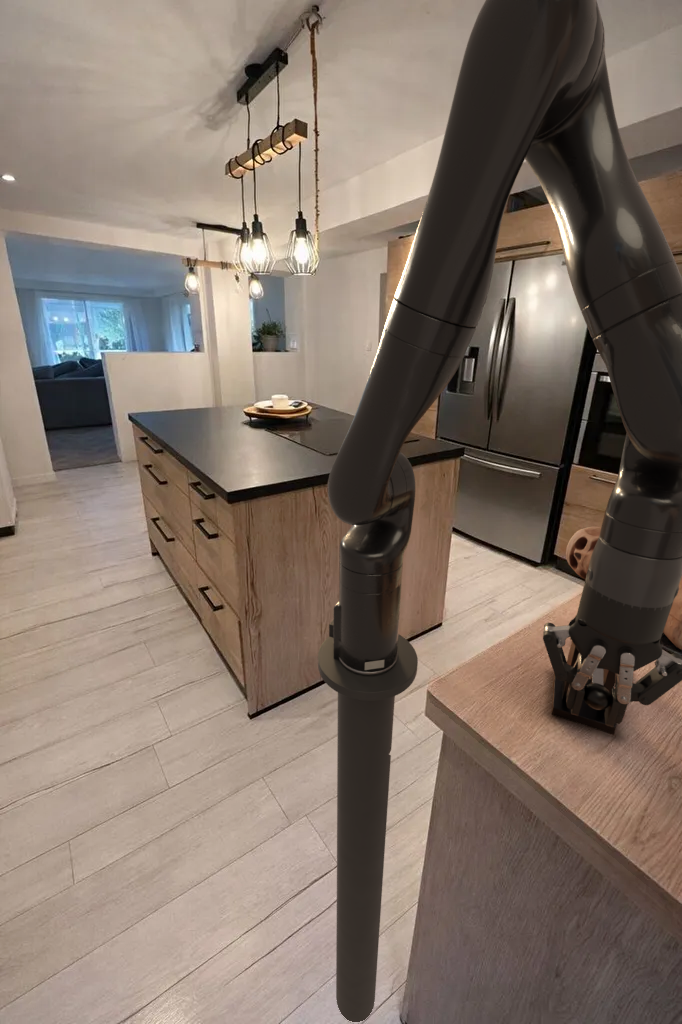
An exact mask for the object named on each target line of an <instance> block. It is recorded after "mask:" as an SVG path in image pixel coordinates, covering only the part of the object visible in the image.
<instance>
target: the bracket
mask: <svg viewBox="0 0 682 1024" xmlns="http://www.w3.org/2000/svg"><path fill="white" fill-rule="evenodd" d="M569 639H570V640H571V643H570V647H569V651H568V655H567V658H566V661H567V664H569V665H570V666H572V667H573V666H574V665H575V663H576V661H577V658H578V654H579V651H578V650H577V648H576V646H575V645H574V643H573V641H572V639H571V638H570V637H569ZM615 678H616V673H613V672H611V671H609V670H607V669H604V671H603V686H605V687H606V688H607V689H608V691H609V692H610V693H611V690H612V688H614V689H615ZM552 682H553V683H552V698H551V699H552V700H551V715H552V716H554V717H558V718H561V719H564V720H568V721H570V722H574V723H577V724H580V725H582V726H585V727H589V728H591V729H594V730H598V731H601V732H604V733H607V734H610V735H614V736H615V732H616V731H617V723H615V724H614V727H610V726H607V725H606V724H605V709H603V710H596V709H593V708H591V707H590V706H588V705H587V704H586V702H585V701H584V699H583V701H582V704H581V708H580V712H579V715H578V716H576V715H573V714H571V709H569V708H567V705H566V695H567V691H568V687H569V683H568V682H567V681H565V680H564V681H561V680H558V679H557V678H556V677H555V674H554V673H553V681H552ZM590 683H591V678H589V679H588V681H587V683H586V684H585V686H586V685H588V684H590Z"/></svg>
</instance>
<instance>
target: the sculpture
mask: <svg viewBox="0 0 682 1024" xmlns="http://www.w3.org/2000/svg"><path fill="white" fill-rule="evenodd" d="M601 527H602V526H596V525H595V526H594V525H593V526H588V527H584V528H580V529H578V530H577V531H575V532H574V534H573V535H572V536H571V538H570V539H569V541H568V543H567V545H566V549H565V557H566V561H567V564H568V565H569V567H570V568H571V569H572V570H573V571H574V572H575V573H576V574H577V575H578V576H579V577H580V578H582V579H584V580H585V579H586V575H587V571H588V567H589V563H590V559H591V556H592V552H593V550H594V547H595V545H596V543H597V541H598V538H599V535H600V531H601ZM663 635H665V636H666V637H667V639H668V640H669V641H670V642H671V643H672V644H673V645H674V646H675V647H676V648H678V649H679V650H681V651H682V576H681V580H680V583H679V591H678V594H677V596H676V597H675V598H674V601H673V604H672V607H671V610H670V613H669V616H668V619H667V622H666V625H665V628H664V631H663Z"/></svg>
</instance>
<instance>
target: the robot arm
mask: <svg viewBox="0 0 682 1024" xmlns="http://www.w3.org/2000/svg"><path fill="white" fill-rule="evenodd" d="M605 31H606V30H605V27H604V23H603V18H602V14H601V10H600V7H599V5H598V1H597V0H484V2H483V4H482V6H481V8H480V10H479V12H478V14H477V16H476V19H475V21H474V24H473V27H472V29H471V32H470V34H469V37H468V40H467V43H466V46H465V50H464V54H463V58H462V62H461V66H460V70H459V73H458V77H457V81H456V85H455V90H454V94H453V97H452V102H451V106H450V110H449V115H448V119H447V121H446V122H447V123H446V127H445V131H444V136H443V138H442V139H443V140H442V144H441V148H440V152H439V156H438V160H437V164H436V168H435V172H434V175H433V178H432V182H431V186H430V189H429V192H428V195H427V198H426V201H425V204H424V206H423V209H422V213H421V216H420V218H419V222H418V225H417V228H416V231H415V235H414V237H413V240H412V244H411V247H410V251H409V254H408V256H407V260H406V263H405V266H404V269H403V271H402V275H401V278H400V280H399V283H398V285H397V288H396V291H395V293H394V297H393V300H392V303H391V306H390V309H389V312H388V315H387V318H386V321H385V324H384V326H383V330H382V332H381V333H382V334H381V337H380V342H379V344H378V348H377V350H376V354H375V356H374V360H373V363H372V365H371V368H370V371H369V374H368V377H367V380H366V383H365V386H364V388H363V392H362V394H361V398H360V401H359V403H358V407H357V409H356V412H355V414H354V416H353V419H352V422H351V424H350V426H349V429H348V430H347V432H346V435H345V437H344V438H343V441H342V443H341V446H340V448H339V450H338V452H337V455H336V457H335V459H334V461H333V463H332V465H331V468H330V472H329V474H328V479H327V499H328V503H329V506H330V509H331V510H332V512H333V514H334V515H335V517H336V518H337V519H338V520H339V521H341V522H343V523H345V524H346V525H350V526H351V527H350V528H349V530H348V531H347V532H346V533H345V535H343V537H342V538H341V540H340V543H339V548H338V581H339V582H338V602H337V603H336V604H335V605H334V606H333V618H332V620H331V621H330V623H329V624H328V637H332V638H334V659H336V660H339V661H340V663H341V665H342V666H343V667H344V668H345V669H347V670H348V671H350V672H352V673H354V674H357V675H362V676H377V675H381V674H384V673H386V672H388V671H390V670H391V669H392V668H393V667H394V666H395V664H396V662H397V649H398V634H399V629H400V628H399V627H400V613H401V599H402V586H403V585H402V583H403V569H404V568H403V567H404V556H405V551H406V549H407V548H408V545H409V543H410V539H411V533H412V529H413V528H412V527H413V519H414V511H415V510H414V509H415V502H416V476H415V473H414V469H413V466H412V463H411V462H410V461H409V459H408V458H407V456H406V455H405V454H404V453H402V452H401V450H402V448H403V446H404V444H405V442H406V441H407V438H408V437H409V435H410V434H411V432H412V431H413V430H414V428H415V427H416V425H417V424H418V423H419V422H420V421H421V419H422V418H423V416H424V415H425V414H426V413H427V411H428V410H429V409H430V408H431V407H432V406H433V404H435V402H436V400H437V399H438V398H439V397H440V395H441V394H442V393H443V391H444V390H445V389H446V387H447V386H448V385H449V383H450V382H451V381H452V379H453V377H454V376H455V374H456V372H457V371H458V370H459V367H460V365H461V363H462V362H463V359H464V357H465V354H466V352H467V351H468V348H469V345H470V344H471V341H472V340H473V337H474V334H475V332H476V330H477V327H478V326H479V323H480V321H481V318H482V315H483V313H484V309H485V307H486V303H487V300H488V296H489V293H490V287H491V281H492V277H493V271H494V266H495V261H496V253H497V249H498V243H499V235H500V232H501V231H500V230H501V225H502V221H503V217H504V214H505V210H506V207H507V204H508V201H509V198H510V195H511V192H512V190H513V187H514V185H515V182H516V180H517V177H518V175H519V173H520V171H521V168H522V166H523V164H524V162H525V161H526V163H527V165H529V167H530V169H531V171H532V172H533V174H534V176H535V177H536V179H537V180H538V182H539V184H540V187H541V189H542V190H543V192H544V195H545V197H546V199H547V202H548V205H549V207H550V209H551V210H550V211H551V213H552V215H553V218H554V221H555V225H556V229H557V231H558V236H559V240H560V244H561V249H562V254H563V257H564V258H563V259H564V263H565V267H566V270H567V274H568V277H569V281H570V284H571V287H572V291H573V294H574V297H575V299H576V302H577V305H578V307H579V309H580V312H581V314H582V315H581V316H582V317H583V320H584V322H585V325H586V328H587V330H588V333H589V334H590V337H591V339H592V342H593V344H594V346H595V348H596V350H597V353H598V354H599V355H600V358H601V359H602V361H603V364H604V365H605V368H606V371H607V374H608V378H609V382H610V385H611V389H612V392H613V395H614V400H615V402H616V406H617V409H618V412H619V415H620V418H621V421H622V424H623V427H624V429H625V433H626V434H625V438H624V443H623V448H622V454H621V459H620V464H619V469H618V476H617V478H616V481H615V483H614V486H613V488H612V490H611V493H610V495H609V498H608V500H607V504H606V506H605V507H606V508H605V511H604V515H603V519H602V523H601V526H600V527H601V531H600V535H599V538H598V541H597V543H596V545H595V547H594V550H593V552H592V556H591V559H590V563H589V567H588V571H587V575H586V579H584V582H583V583H584V584H583V588H582V591H581V595H580V600H579V604H578V608H577V612H576V614H575V616H574V617H573V618H572V619H571V620H570V621H569V623H568V624H567V625H557V626H556V625H555V623H552V622H546V623H544V625H543V634H542V640H543V644H544V647H545V649H546V652H547V656H548V658H549V662H550V665H551V667H552V671H553V675H554V674H555V677H556V678H557V679H558V680H561V681H564V680H565V681H567V682H568V683H569V687H568V691H567V695H566V705H567V708H569V709H571V714H573V715H576V716H578V715H579V712H580V708H581V704H582V701H583V697H584V694H585V684H586V683H587V681H588V679H591V677H592V675H593V673H594V671H595V670H596V668H598V669H607V670H609V671H611V672H613V673H616V678H615V685H614V688H612V690H611V693H610V694H611V704H610V705H609V707H607V708H606V709H605V724H606V725H607V726H610V727H614V724H615V723H616V725H620V724H621V723H622V722H623V720H624V718H625V714H626V711H627V708H628V705H629V704H630V703H632V702H637V703H640V705H642V706H649V705H652V704H653V703H654V702H656V701H657V700H658V699H660V698H661V697H662V696H664V695H665V694H666V693H667V692H669V691H670V690H672V689H673V688H674V687H675V686H677V685H678V684H679V683H681V682H682V655H680V654H679V653H669V652H667V651H665V650H664V649H663V647H662V645H661V639H662V636H663V635H664V633H663V631H664V628H665V625H666V622H667V619H668V616H669V613H670V610H671V607H672V604H673V601H674V598H675V597H676V596H677V594H678V591H679V583H680V580H681V576H682V274H681V272H680V270H679V267H678V265H677V264H678V263H677V262H676V258H675V257H674V254H673V252H672V248H671V246H670V245H669V242H668V240H667V238H666V235H665V233H664V231H663V229H662V226H661V225H660V223H659V221H658V218H657V216H656V214H655V212H654V211H653V209H652V206H651V205H650V203H649V201H648V198H647V197H646V195H645V193H644V191H643V189H642V187H641V185H640V183H639V181H638V179H637V177H636V175H635V172H634V169H633V168H632V165H631V163H630V159H629V158H628V154H627V152H626V149H625V145H624V142H623V140H622V137H621V133H620V130H619V126H618V122H617V118H616V114H615V113H616V112H615V107H614V102H613V97H612V90H611V84H610V79H609V78H610V77H609V72H608V71H609V70H608V65H607V57H606V51H605V49H606V41H605V40H606V38H605V37H606V36H605V35H606V32H605ZM568 638H569V639H570V638H571V639H572V640H571V639H570V640H571V642H572V641H573V643H574V645H575V646H576V648H577V650H578V651H579V654H578V658H577V661H576V663H575V665H574V666H573V667H572V666H570V665H569V664H567V657H566V655H565V651H564V649H563V648H564V647H565V646H566V643H567V642H566V641H567V639H568ZM653 662H654V666H655V667H653V668H652V669H650V671H648V672H647V673H645V674H644V675H643V676H642V677H641V678H640V679H638V680H637V681H636V682H634V672H636V671H638V670H639V669H641V668H643V667H646V666H647V665H649V664H651V663H653Z"/></svg>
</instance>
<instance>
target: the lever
mask: <svg viewBox="0 0 682 1024" xmlns="http://www.w3.org/2000/svg"><path fill="white" fill-rule="evenodd" d="M603 671H604V669H598V668H596V670H595V671H594V673H593V675H592V677H591V678H590V679H591V683H590V684H588V685H586V686H585V694H584V697H583V699H584V701H585V702H586V704H587V705H588V706H590V707H591V708H593V709H596V710H603V709H606V708H607V707H609V705H610V704H611V694H610V692H609V691H608V689H607V688H606V687H605V686H603Z"/></svg>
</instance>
